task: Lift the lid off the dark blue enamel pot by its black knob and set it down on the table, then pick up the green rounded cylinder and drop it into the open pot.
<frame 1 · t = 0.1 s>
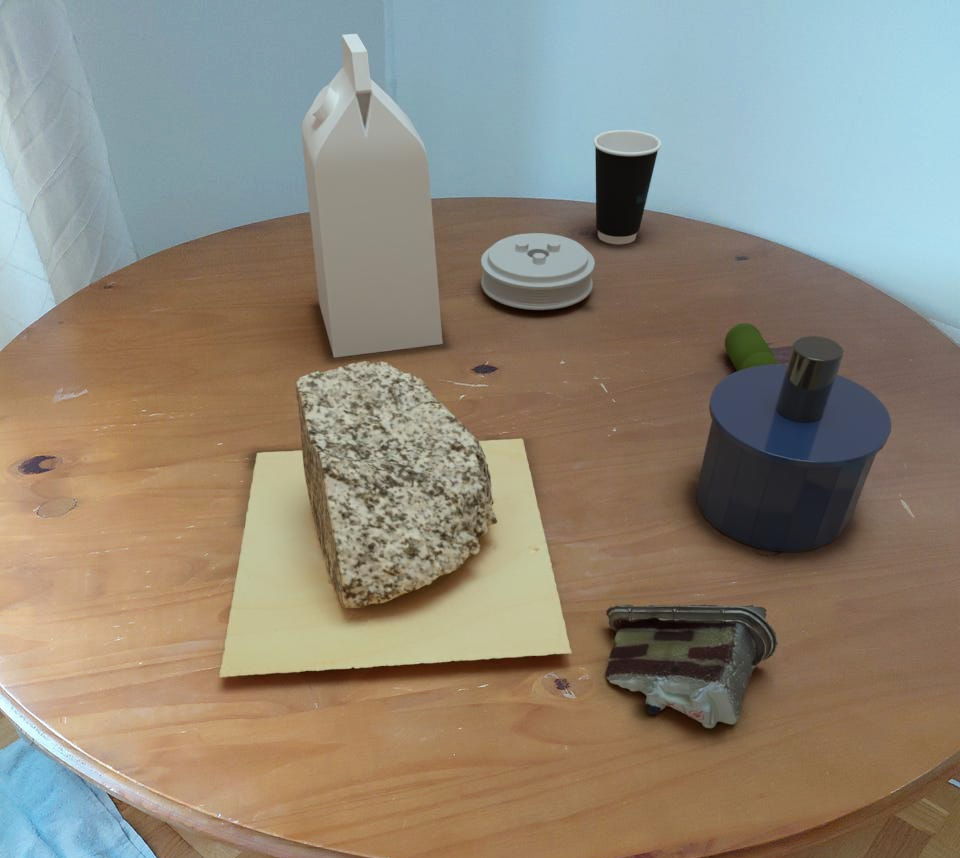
pot lid: (797, 416, 69), point 8 cm above the table, touching pot
pot: (771, 503, 75), on the table
dixie cup: (616, 237, 112), on the table
green rounded cylinder: (746, 371, 90), on the table
lid: (536, 293, 102), on the table
rock: (394, 548, 72), on the table
chocolate cake: (671, 685, 62), on the table
milk: (379, 325, 97), on the table
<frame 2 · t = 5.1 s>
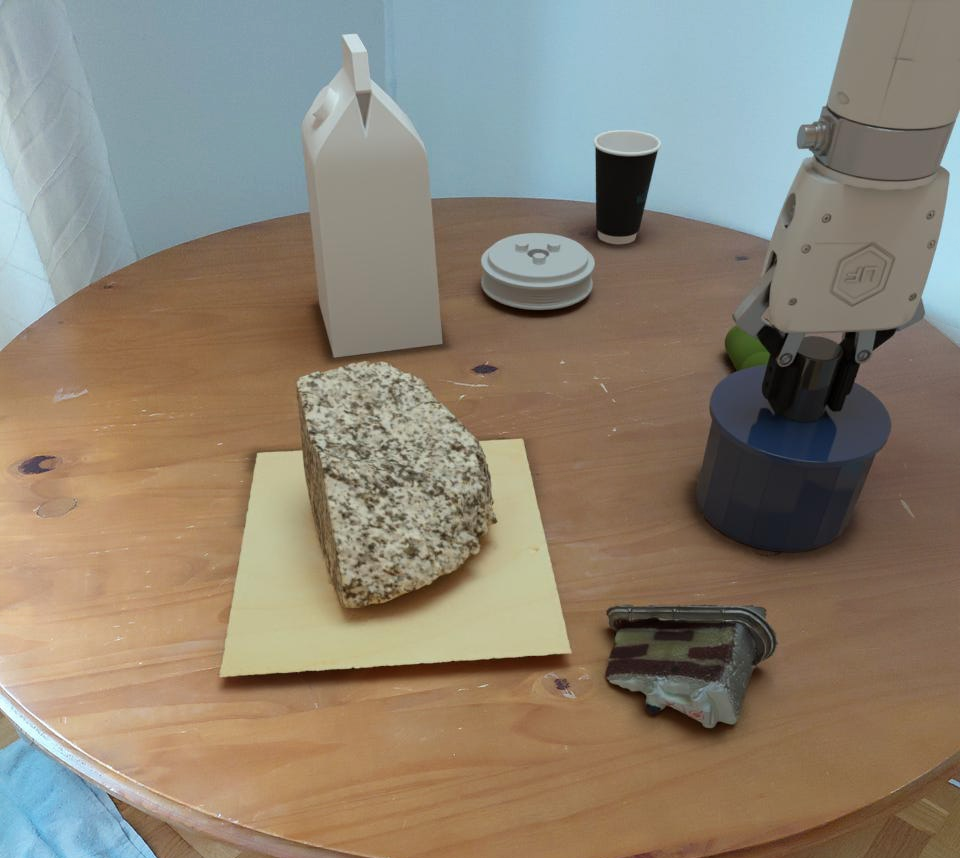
hand: (802, 401, 68), 10 cm above the table, tool pointing down, fingers closed on pot lid, 3 cm apart
pot lid: (797, 416, 69), point 9 cm above the table, touching gripper, pot
everything else where it was.
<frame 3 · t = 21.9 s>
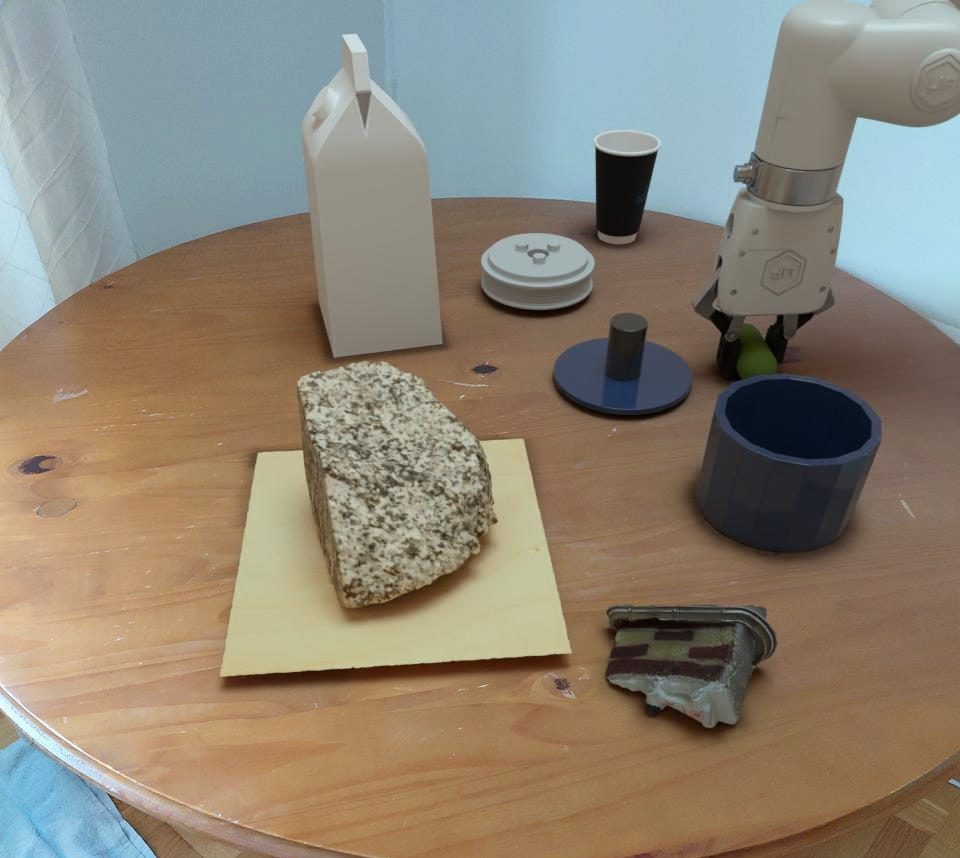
hand: (746, 368, 90), 0 cm above the table, tool pointing down, fingers closed on green rounded cylinder, 3 cm apart
pot lid: (622, 376, 88), point 1 cm above the table
green rounded cylinder: (746, 371, 90), on the table, touching gripper
everything else where it was.
when the fingers open (12 cm above the table, at t = 29.0 s): green rounded cylinder drops 11 cm, resting on pot.
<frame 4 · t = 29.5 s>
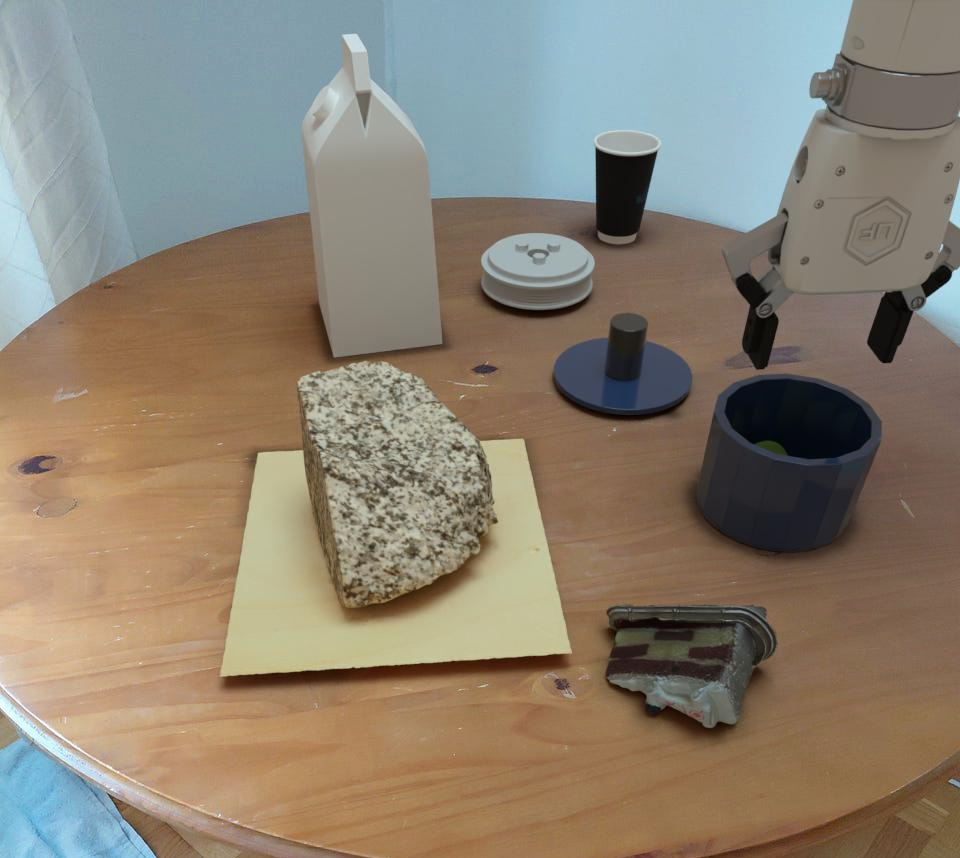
hand: (817, 356, 65), 14 cm above the table, tool pointing down, fingers open, 8 cm apart
green rounded cylinder: (773, 497, 75), point 1 cm above the table, tilted 11°, touching pot
everything else where it was.
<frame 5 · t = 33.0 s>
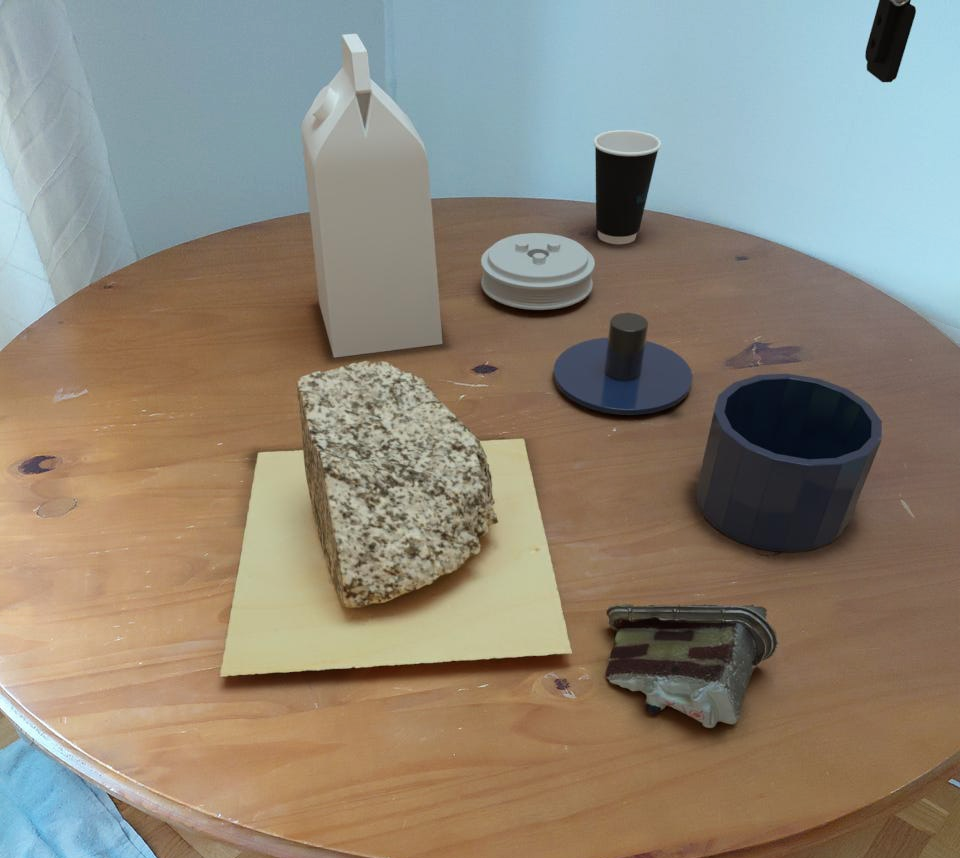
hand: (952, 74, 57), 30 cm above the table, tool pointing down, fingers open, 9 cm apart
green rounded cylinder: (770, 485, 74), point 2 cm above the table, tilted 77°, touching pot
everything else where it was.
at the end: pot lid inside the target area (0.0 cm from its centre), point 0.6 cm above the table; green rounded cylinder inside the target area in the pot (0.6 cm from its centre), point 1.9 cm above the pot's base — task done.
